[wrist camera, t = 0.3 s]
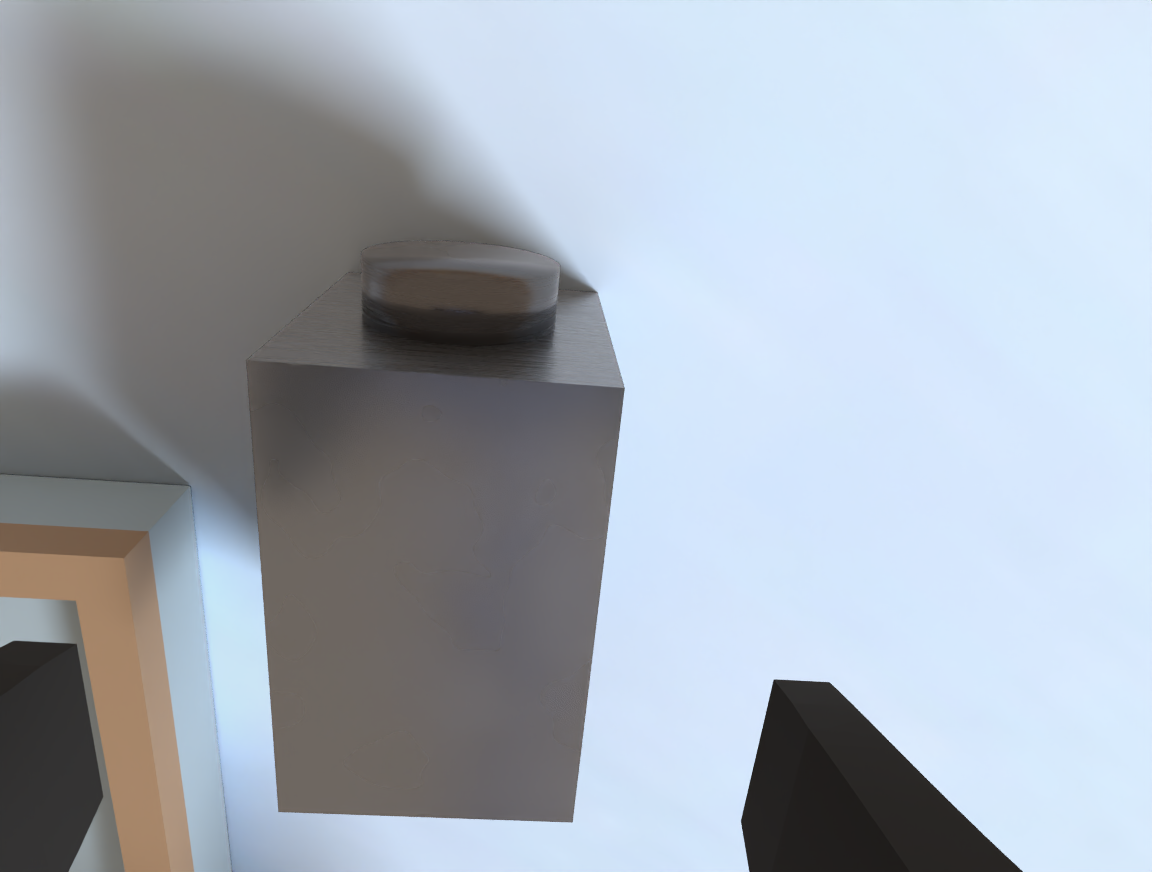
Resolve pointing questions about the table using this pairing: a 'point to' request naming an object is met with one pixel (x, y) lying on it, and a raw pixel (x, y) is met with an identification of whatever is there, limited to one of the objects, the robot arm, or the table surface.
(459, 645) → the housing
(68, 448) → the table surface
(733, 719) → the table surface
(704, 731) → the table surface
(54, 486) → the square tray
